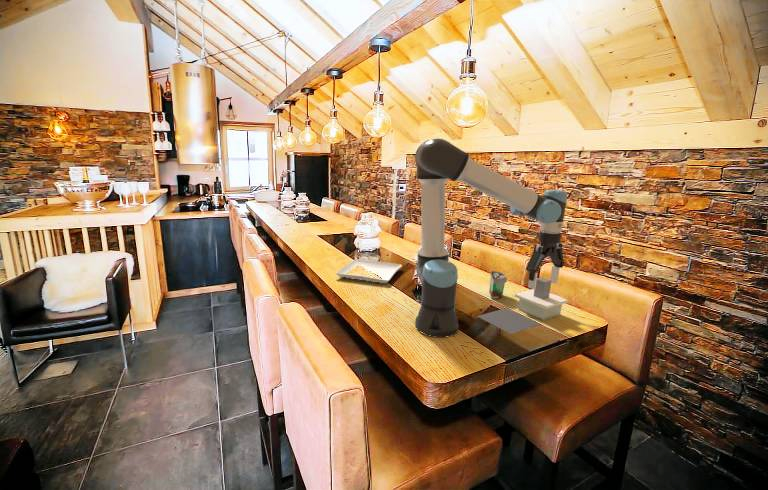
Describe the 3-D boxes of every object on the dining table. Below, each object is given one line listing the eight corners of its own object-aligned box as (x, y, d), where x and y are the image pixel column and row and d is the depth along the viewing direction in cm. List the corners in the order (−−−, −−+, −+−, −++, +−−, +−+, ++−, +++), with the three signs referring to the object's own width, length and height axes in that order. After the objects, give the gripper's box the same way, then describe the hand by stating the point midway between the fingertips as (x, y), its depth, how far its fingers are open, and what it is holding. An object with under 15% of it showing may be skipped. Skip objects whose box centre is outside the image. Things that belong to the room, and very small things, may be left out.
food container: (506, 302, 150) (509, 280, 148) (491, 301, 151) (493, 279, 149) (503, 292, 162) (505, 271, 159) (489, 291, 163) (491, 270, 160)
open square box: (542, 321, 133) (544, 306, 132) (518, 310, 142) (519, 296, 141) (560, 315, 139) (562, 301, 137) (535, 305, 148) (537, 292, 146)
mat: (511, 335, 122) (511, 334, 122) (476, 317, 135) (476, 316, 135) (540, 325, 130) (540, 324, 130) (505, 309, 143) (505, 308, 143)
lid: (546, 309, 130) (549, 288, 128) (514, 296, 141) (516, 277, 139) (568, 302, 137) (571, 282, 135) (536, 290, 148) (538, 272, 146)
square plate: (334, 280, 172) (334, 272, 172) (355, 264, 198) (355, 258, 197) (388, 287, 165) (388, 279, 164) (402, 270, 190) (402, 263, 189)
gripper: (538, 236, 123) (530, 294, 128) (579, 230, 136) (570, 283, 141) (520, 232, 129) (513, 287, 134) (561, 227, 142) (553, 277, 147)
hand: (542, 285), depth 138 cm, fingers open, 13 cm apart
